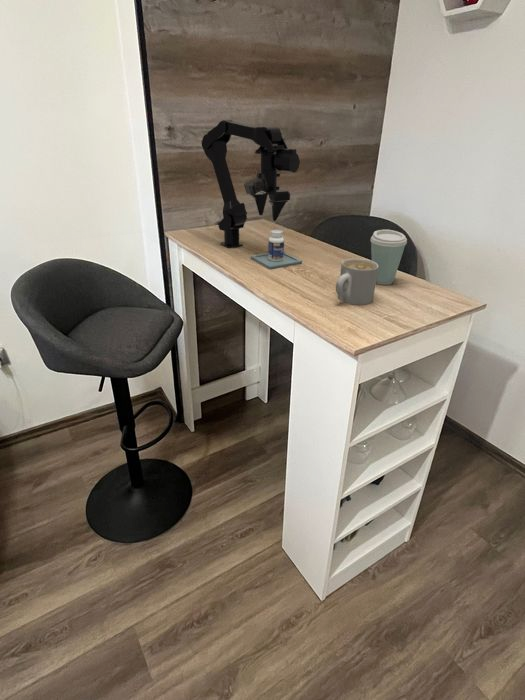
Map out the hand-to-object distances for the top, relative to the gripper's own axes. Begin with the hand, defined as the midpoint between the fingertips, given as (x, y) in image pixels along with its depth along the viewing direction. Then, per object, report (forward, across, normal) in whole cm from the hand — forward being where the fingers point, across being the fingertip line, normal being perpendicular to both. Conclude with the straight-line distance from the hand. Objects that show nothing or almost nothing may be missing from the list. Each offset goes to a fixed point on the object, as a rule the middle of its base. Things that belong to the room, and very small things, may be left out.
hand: (267, 217), depth 147 cm
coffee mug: (+13, +46, 0) cm, 48 cm away
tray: (+13, +8, -1) cm, 15 cm away
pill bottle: (+13, +8, -1) cm, 15 cm away
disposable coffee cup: (+13, +40, +18) cm, 46 cm away
